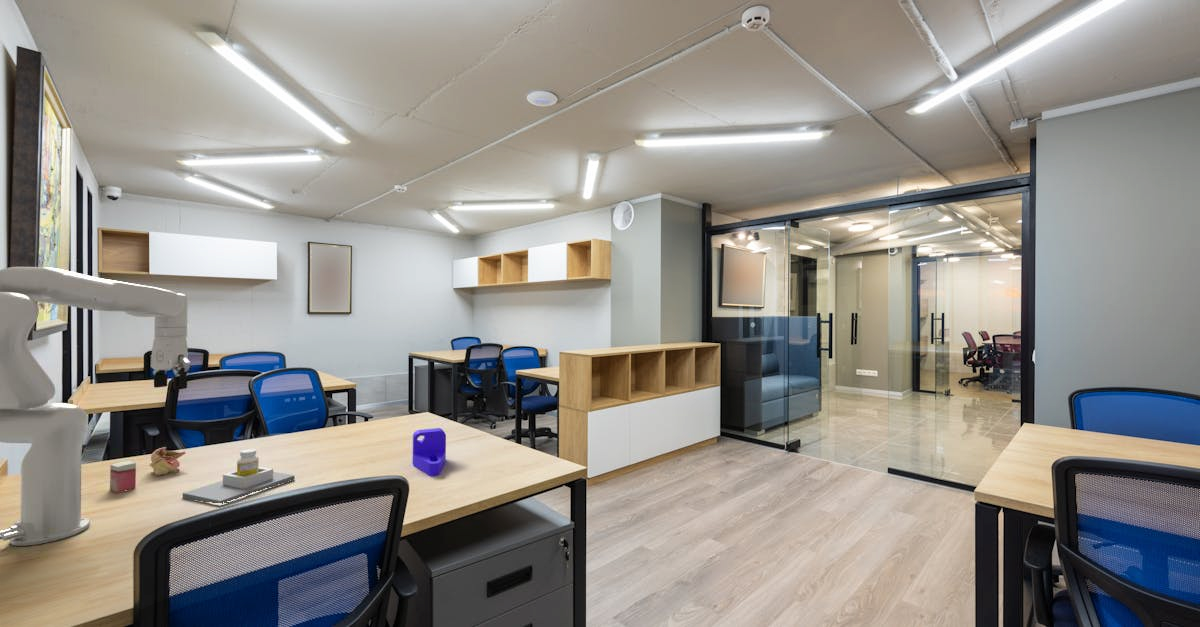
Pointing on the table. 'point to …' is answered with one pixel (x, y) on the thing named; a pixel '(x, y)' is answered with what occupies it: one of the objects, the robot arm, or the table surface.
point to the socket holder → (237, 486)
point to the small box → (122, 476)
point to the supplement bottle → (247, 463)
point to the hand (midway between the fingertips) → (170, 387)
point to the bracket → (429, 451)
